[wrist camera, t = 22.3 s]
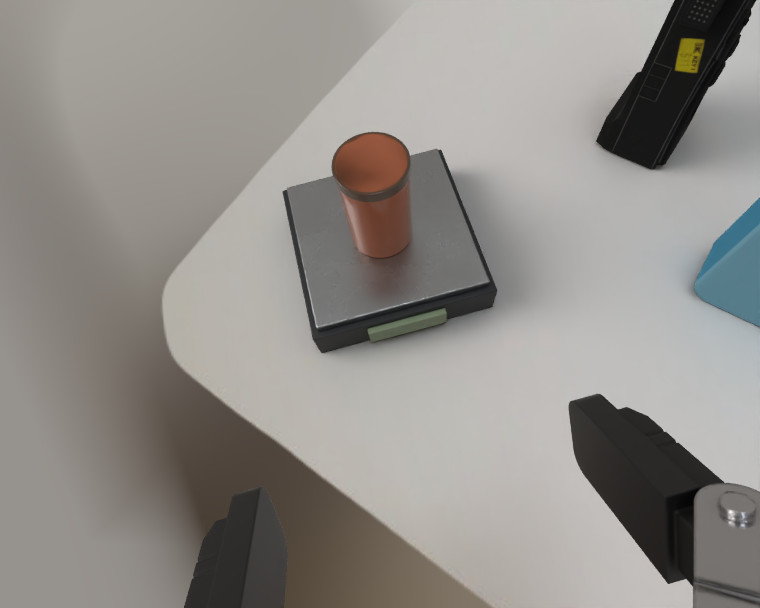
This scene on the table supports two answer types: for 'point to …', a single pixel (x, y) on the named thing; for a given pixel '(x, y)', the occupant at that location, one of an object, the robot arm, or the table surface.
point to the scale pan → (391, 274)
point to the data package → (735, 269)
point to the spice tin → (375, 192)
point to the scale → (398, 319)
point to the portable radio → (674, 79)
